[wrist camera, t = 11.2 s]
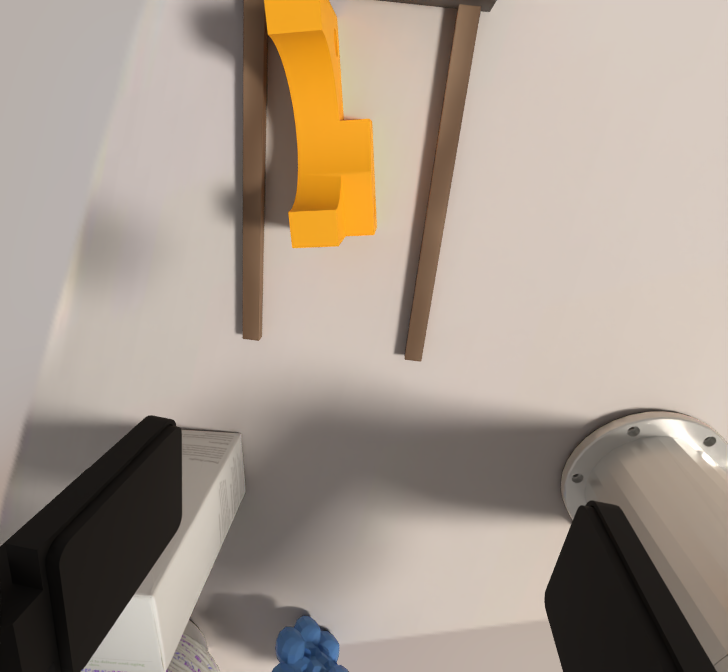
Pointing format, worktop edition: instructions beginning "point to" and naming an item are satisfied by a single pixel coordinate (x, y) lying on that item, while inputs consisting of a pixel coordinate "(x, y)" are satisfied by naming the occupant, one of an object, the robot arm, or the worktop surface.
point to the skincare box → (180, 558)
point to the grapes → (307, 649)
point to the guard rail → (461, 56)
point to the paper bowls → (187, 654)
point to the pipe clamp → (323, 129)
